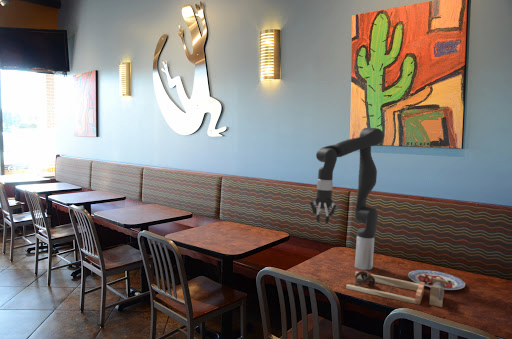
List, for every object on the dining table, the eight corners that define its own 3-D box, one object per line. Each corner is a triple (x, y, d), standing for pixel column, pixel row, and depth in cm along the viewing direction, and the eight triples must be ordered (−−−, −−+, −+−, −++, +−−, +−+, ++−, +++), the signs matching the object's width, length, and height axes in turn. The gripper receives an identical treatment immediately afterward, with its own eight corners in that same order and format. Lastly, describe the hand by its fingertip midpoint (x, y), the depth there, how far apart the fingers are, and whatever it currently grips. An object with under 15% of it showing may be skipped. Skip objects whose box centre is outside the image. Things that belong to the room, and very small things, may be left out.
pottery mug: (379, 291, 185) (373, 277, 182) (360, 298, 187) (353, 284, 184) (374, 276, 196) (368, 262, 194) (355, 282, 198) (349, 269, 196)
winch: (431, 294, 182) (433, 275, 181) (443, 297, 180) (445, 277, 179) (428, 306, 169) (430, 286, 168) (441, 309, 166) (443, 288, 165)
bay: (355, 276, 201) (356, 269, 201) (423, 290, 186) (424, 282, 186) (346, 288, 185) (346, 280, 185) (419, 304, 170) (420, 295, 170)
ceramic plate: (408, 287, 190) (408, 281, 190) (407, 271, 214) (407, 265, 214) (468, 297, 181) (469, 291, 181) (460, 278, 205) (461, 273, 205)
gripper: (340, 189, 196) (338, 223, 198) (313, 186, 203) (311, 219, 205) (336, 190, 190) (334, 226, 191) (308, 187, 196) (306, 222, 198)
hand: (322, 222), depth 198 cm, fingers open, 3 cm apart
